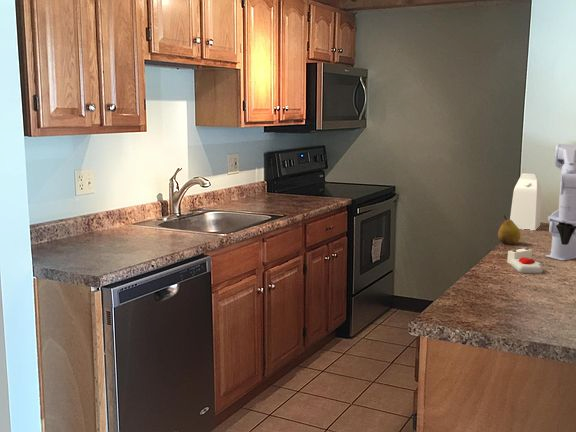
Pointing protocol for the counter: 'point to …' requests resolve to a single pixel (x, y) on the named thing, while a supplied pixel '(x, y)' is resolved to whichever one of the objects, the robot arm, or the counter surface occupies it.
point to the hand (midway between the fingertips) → (564, 244)
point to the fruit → (508, 232)
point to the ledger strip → (519, 254)
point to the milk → (526, 202)
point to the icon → (526, 265)
